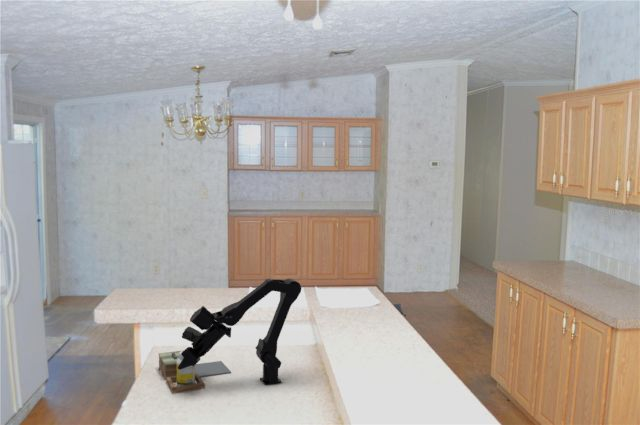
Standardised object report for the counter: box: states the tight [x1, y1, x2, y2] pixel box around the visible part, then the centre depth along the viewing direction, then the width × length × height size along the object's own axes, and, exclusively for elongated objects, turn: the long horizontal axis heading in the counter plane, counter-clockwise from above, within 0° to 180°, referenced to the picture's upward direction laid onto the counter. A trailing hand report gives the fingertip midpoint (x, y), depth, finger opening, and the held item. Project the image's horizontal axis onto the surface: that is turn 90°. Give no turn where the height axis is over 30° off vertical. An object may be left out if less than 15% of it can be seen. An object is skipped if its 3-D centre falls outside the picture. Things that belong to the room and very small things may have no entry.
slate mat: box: [195, 360, 232, 379], centre depth 214 cm, size 14×14×1 cm
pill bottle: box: [176, 350, 196, 386], centre depth 197 cm, size 6×6×12 cm
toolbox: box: [158, 350, 206, 394], centre depth 204 cm, size 28×11×7 cm, turn 26°
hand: (181, 365), depth 197 cm, fingers closed on pill bottle, 6 cm apart
